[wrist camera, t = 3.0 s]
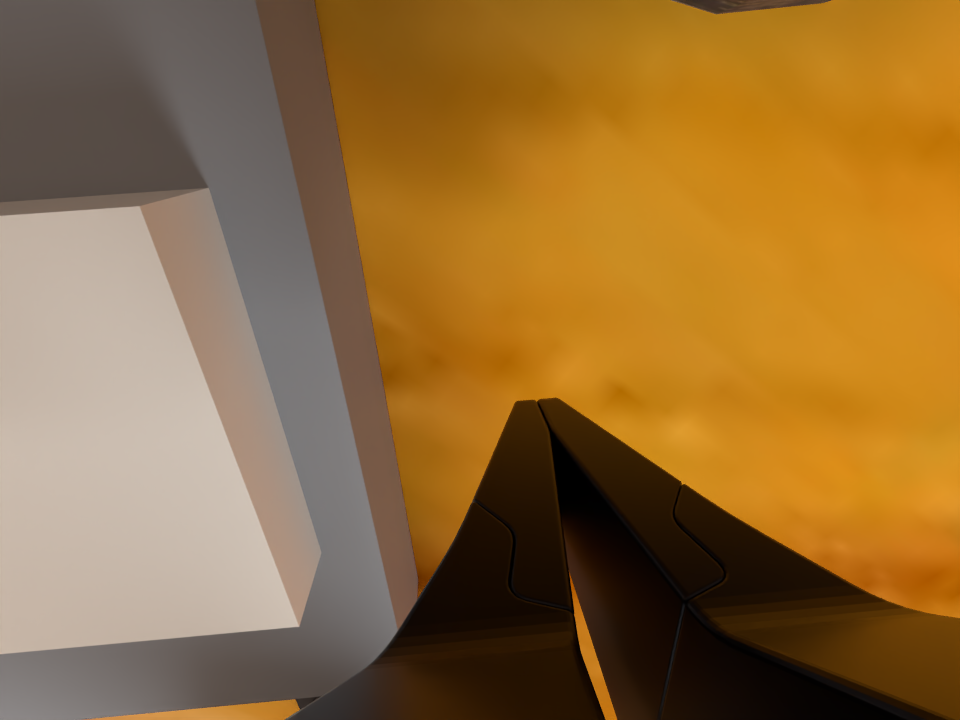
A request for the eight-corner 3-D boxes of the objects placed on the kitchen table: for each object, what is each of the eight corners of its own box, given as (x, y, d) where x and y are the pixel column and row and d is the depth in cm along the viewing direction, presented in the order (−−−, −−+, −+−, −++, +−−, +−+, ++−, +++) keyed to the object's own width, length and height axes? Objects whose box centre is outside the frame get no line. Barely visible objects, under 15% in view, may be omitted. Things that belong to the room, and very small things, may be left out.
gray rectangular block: (418, 580, 19) (410, 687, 15) (12, 617, 18) (-94, 736, 15) (276, -214, 9) (152, -453, 5) (-633, -170, 8) (-1455, -392, 5)
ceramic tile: (321, 552, 12) (299, 626, 10) (-32, 583, 12) (-117, 664, 10) (208, 187, 8) (139, 206, 6) (-335, 225, 8) (-566, 255, 6)
